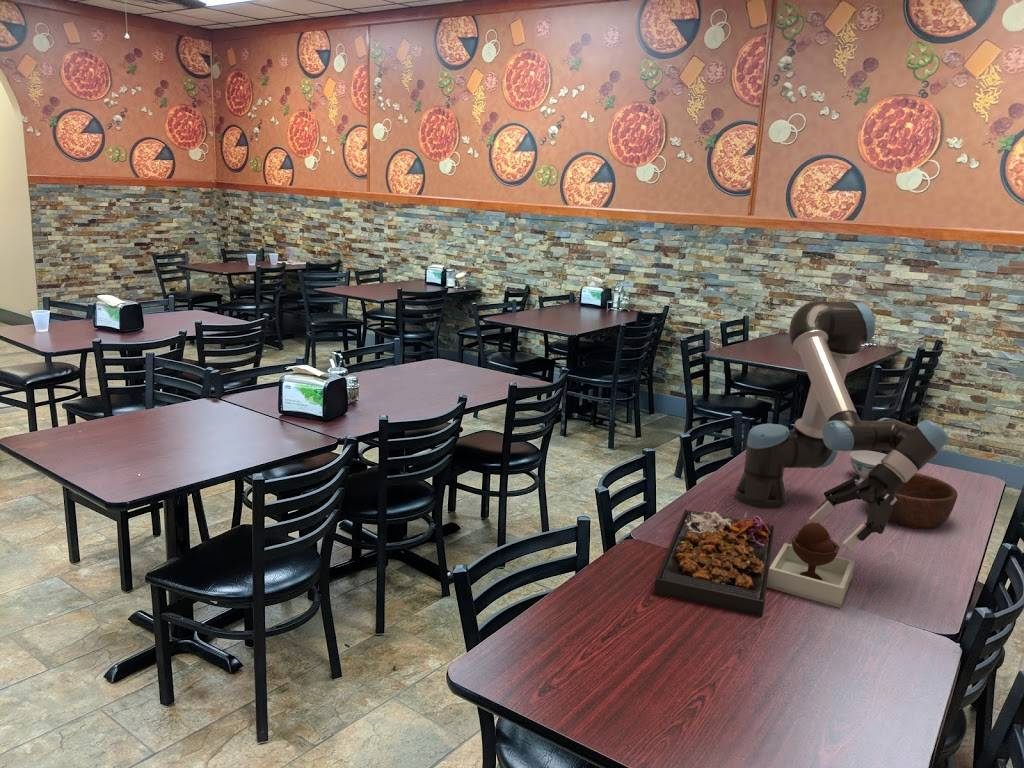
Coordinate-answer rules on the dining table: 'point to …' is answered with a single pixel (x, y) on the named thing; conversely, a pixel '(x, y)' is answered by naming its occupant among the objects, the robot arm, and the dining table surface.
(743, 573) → the food platter
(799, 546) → the ice cream bowl
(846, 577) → the bin
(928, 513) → the wooden bowl
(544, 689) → the dining table surface
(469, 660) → the dining table surface
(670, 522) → the dining table surface
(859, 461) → the chinaware
